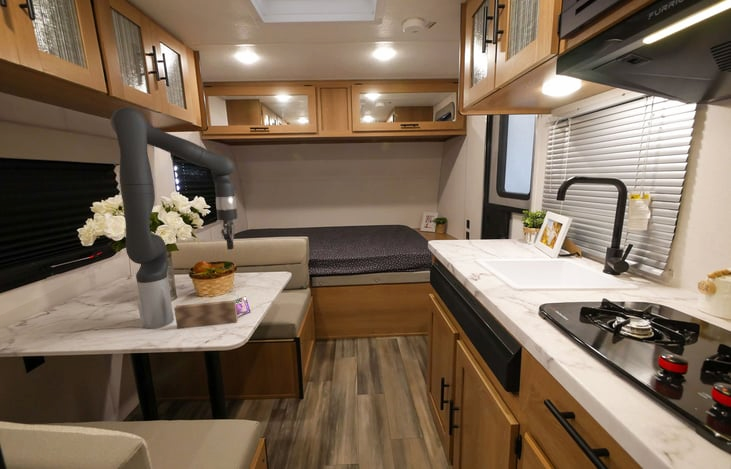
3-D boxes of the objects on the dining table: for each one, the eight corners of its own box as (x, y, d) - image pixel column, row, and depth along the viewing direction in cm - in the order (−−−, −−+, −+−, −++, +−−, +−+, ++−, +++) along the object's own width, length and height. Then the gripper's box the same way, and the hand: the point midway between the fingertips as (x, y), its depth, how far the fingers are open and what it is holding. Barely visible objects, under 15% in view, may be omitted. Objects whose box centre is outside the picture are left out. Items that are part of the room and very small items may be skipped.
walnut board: (177, 329, 111) (174, 308, 110) (179, 326, 113) (176, 305, 112) (236, 322, 115) (234, 302, 113) (237, 320, 117) (235, 300, 115)
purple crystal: (225, 303, 116) (246, 295, 123) (218, 305, 119) (239, 297, 126) (230, 321, 116) (251, 312, 123) (223, 322, 119) (244, 313, 126)
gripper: (220, 206, 133) (224, 246, 136) (212, 209, 120) (216, 253, 123) (239, 205, 134) (243, 245, 137) (232, 209, 121) (236, 252, 125)
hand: (230, 249), depth 130 cm, fingers closed
